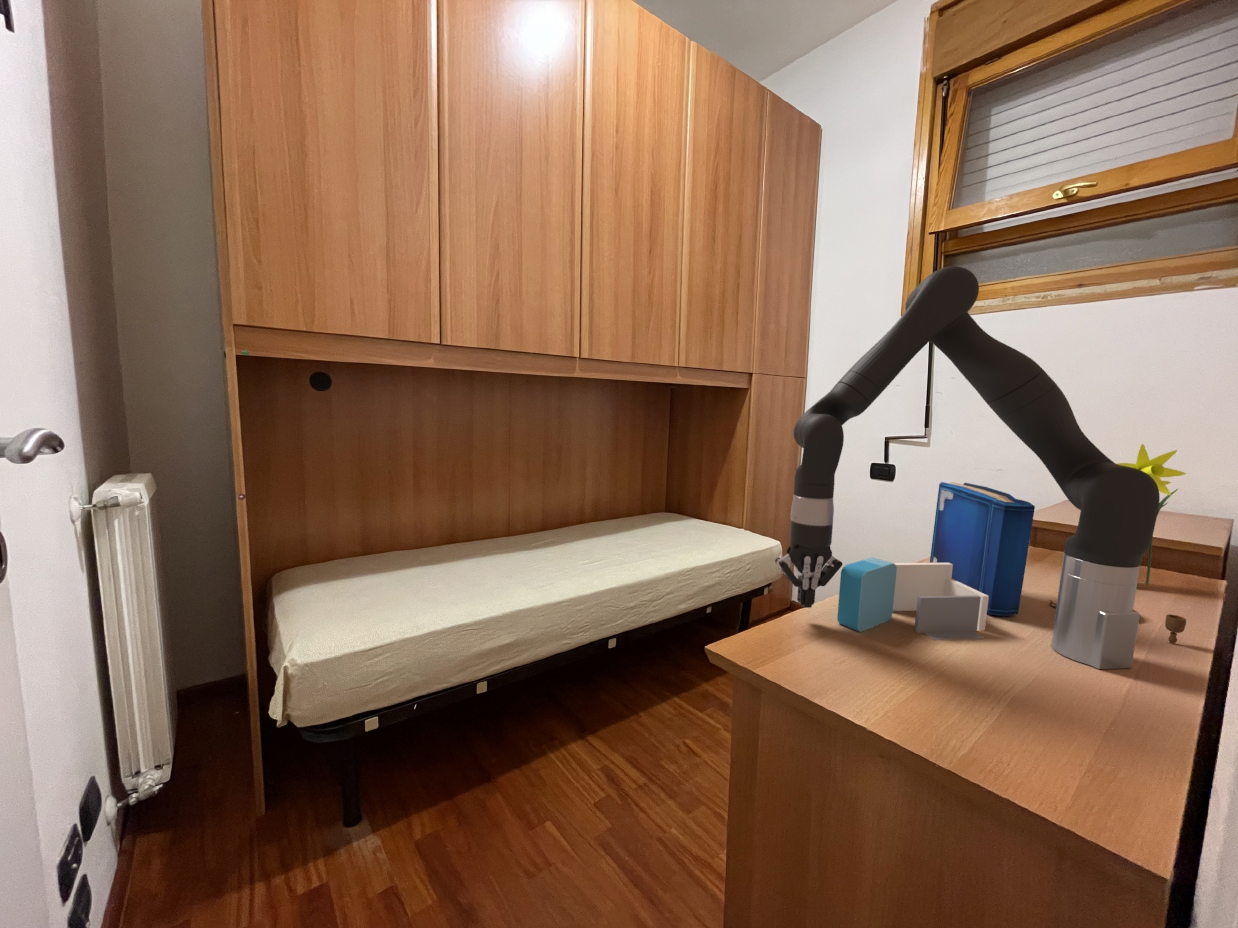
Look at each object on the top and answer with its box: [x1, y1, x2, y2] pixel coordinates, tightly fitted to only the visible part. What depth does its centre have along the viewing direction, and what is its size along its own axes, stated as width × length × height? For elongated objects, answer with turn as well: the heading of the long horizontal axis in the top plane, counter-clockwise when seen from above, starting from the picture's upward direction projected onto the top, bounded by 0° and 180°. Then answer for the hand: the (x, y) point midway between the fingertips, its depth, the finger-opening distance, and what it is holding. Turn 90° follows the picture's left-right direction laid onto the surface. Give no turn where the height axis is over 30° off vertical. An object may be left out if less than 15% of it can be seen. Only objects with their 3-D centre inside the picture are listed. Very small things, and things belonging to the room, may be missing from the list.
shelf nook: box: [893, 562, 989, 641], centre depth 96 cm, size 14×14×10 cm
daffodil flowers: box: [1116, 443, 1187, 586], centre depth 119 cm, size 17×15×35 cm
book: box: [929, 481, 1036, 617], centre depth 108 cm, size 22×7×25 cm, turn 179°
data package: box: [836, 557, 897, 633], centre depth 96 cm, size 12×4×12 cm, turn 123°
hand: (805, 605), depth 95 cm, fingers closed
